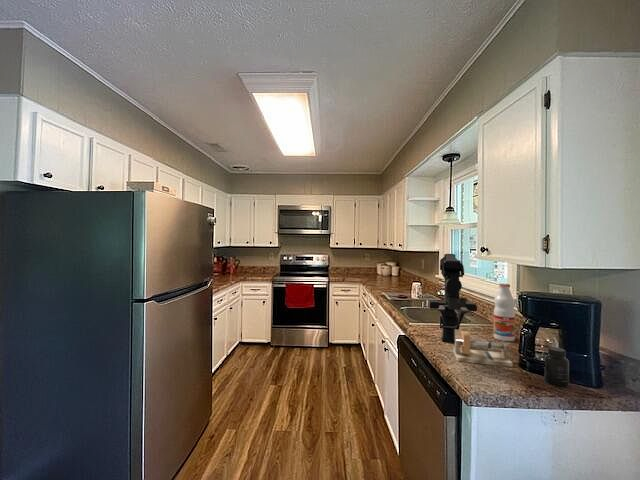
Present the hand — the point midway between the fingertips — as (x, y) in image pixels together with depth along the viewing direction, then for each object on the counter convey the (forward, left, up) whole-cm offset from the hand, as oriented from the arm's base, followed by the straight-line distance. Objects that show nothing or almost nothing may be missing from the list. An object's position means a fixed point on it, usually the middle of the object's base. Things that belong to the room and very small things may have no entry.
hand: (451, 325), depth 134 cm
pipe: (0, +11, -8) cm, 14 cm away
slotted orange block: (0, +6, -11) cm, 12 cm away
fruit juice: (-34, +29, -13) cm, 47 cm away
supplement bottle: (+18, +31, -13) cm, 39 cm away
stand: (0, +11, -13) cm, 17 cm away
